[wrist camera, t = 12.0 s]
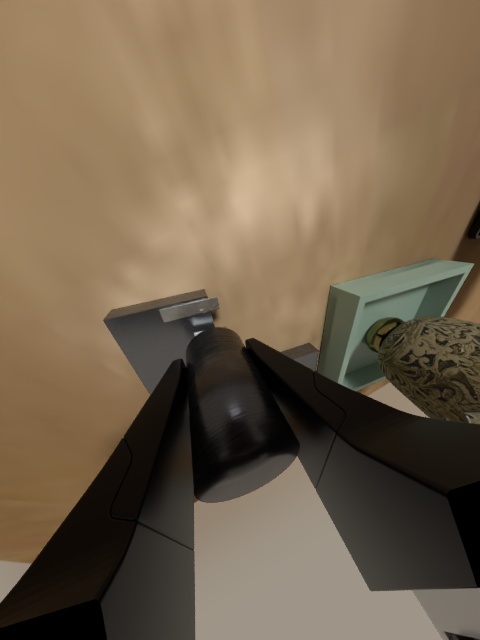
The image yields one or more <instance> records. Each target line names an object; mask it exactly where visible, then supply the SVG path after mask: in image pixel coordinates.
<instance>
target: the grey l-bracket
mask: <svg viewBox="0 0 480 640" xmlns="http://www.w3.org/2000/svg"><path fill="white" fill-rule="evenodd" d="M216 309H219V304H218V299H217V297H213V298H207V295H206V292H205V290H204V289H203V290H199V291H194V292H190V293H185V294H181V295H176V296H172V297H167V298H163V299H158V300H154V301H150V302H145V303H141V304H136V305H132V306H127V307H123V308H118V309H114V310H111V311H110V312H109V314H108V315H107V316H106V317H105V319H104V320H103V321H104V322H105V324H106V326H107V327H108V329H109V330H110V332H111V334H112V335H113V337H114V338H115V340H116V341H117V343H118V345H119V346H120V348H121V349H122V351H123V353H124V354H125V356H126V357H127V359H128V360H129V362H130V364H131V365H132V367H133V368H134V370H135V372H136V373H137V375H138V376H139V378H140V380H141V381H142V383H143V384H144V386H145V387H146V389H147V391H148V392H149V394H150V395H151V394H152V392H153V390H154V389H155V387H156V386H157V384H158V383H159V381H160V380H161V378H162V377H163V375H164V374H165V372H166V371H167V369H168V367H169V366H170V364H171V363H172V361H174V360H177V359H180V358H181V359H183V361H184V363H185V366H186V349H187V346H188V344H189V343H190V341H191V340H192V339H193V338H194V337H195V336H194V333H195V332H200V331H204V330H207V329H210V328H215V327H214V323H213V318H212V314H211V311H212V310H216ZM318 352H319V351H318V350H317V349H316V348H315V347H314V346H312V345H311V344H310V343H307V344H304V345H301V346H298V347H295V348H292V349H289V350H286V351H283V352H280V353H282V354H284V355H286V356H288V357H290V358H292V359H293V360H295V361H297V362H299V363H301V364H303V365H304V366H306V367H308V368H310V369H312V370H313V372H314V371H316V365H317V358H318Z"/></svg>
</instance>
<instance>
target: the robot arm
mask: <svg viewBox="0 0 480 640" xmlns="http://www.w3.org/2000/svg"><path fill="white" fill-rule="evenodd" d="M469 238H471V239H478V238H480V216H479V218H478V220H477V221H476V223H475V225H474V227H473V229H472V231H471V233H470V235H469ZM245 343H246V349H247V351H248V353H249V354H250V356H251V358H252V360H253V362H254V363H255V365H256V367H257V369H258V370H259V372H260V374H261V376H262V377H263V379H264V381H265V383H266V384H267V386H268V388H269V390H270V392H271V393H272V395H273V397H274V399H275V400H276V402H277V404H278V406H279V407H280V409H281V411H282V413H283V414H284V416H285V418H286V420H287V422H288V423H289V425H290V427H291V429H292V430H293V432H294V434H295V436H296V437H297V439H298V441H299V443H300V450H299V453H298V455H297V456H298V458H299V460H300V461H301V463H302V465H303V467H304V469H305V471H306V473H307V474H308V476H309V478H310V480H311V482H312V484H313V486H314V487H315V488H316V491H317V493H318V495H319V497H320V499H321V501H322V502H323V504H324V506H325V508H326V510H327V511H328V514H329V515H330V517H331V519H332V521H333V523H334V524H335V527H336V528H337V530H338V532H339V534H340V536H341V537H342V539H343V541H344V543H345V545H346V547H347V549H348V551H349V552H350V554H351V556H352V558H353V560H354V562H355V564H356V565H357V567H358V569H359V571H360V573H361V575H362V576H363V578H364V580H365V582H366V584H367V586H368V587H369V589H370V590H371V591H395V590H412V591H413V593H414V594H415V596H416V597H417V599H418V600H419V602H420V604H421V605H422V607H423V609H424V610H425V611H426V613H427V615H428V617H429V618H430V620H431V621H432V623H433V624H434V626H435V628H436V629H437V631H438V632H439V634H440V635H441V637H442V639H443V640H480V424H473V423H465V422H457V421H450V420H442V419H434V418H426V417H420V416H416V415H412V414H409V413H406V412H403V411H400V410H397V409H395V408H392V407H390V406H388V405H386V404H383V403H381V402H379V401H377V400H374V399H372V398H370V397H368V396H365V395H363V394H361V393H359V392H356V391H354V390H352V389H350V388H347V387H345V386H343V385H341V384H339V383H337V382H335V381H333V380H331V379H329V378H327V377H325V376H323V375H321V374H319V373H318V372H316V371H314V372H313V370H312V369H310V368H308V367H306V366H304V365H303V364H301V363H299V362H297V361H295V360H293V359H292V358H290V357H288V356H286V355H284V354H282V353H280V352H279V351H277V350H275V349H273V348H271V347H269V346H268V345H266V344H264V343H262V342H260V341H258V340H256V339H255V338H251V339H247V340H246V342H245ZM193 550H194V486H193V470H192V453H191V437H190V420H189V404H188V387H187V370H186V366H185V363H184V361H183V359H181V358H180V359H177V360H174V361H172V363H171V364H170V366H169V367H168V369H167V371H166V372H165V374H164V375H163V377H162V378H161V380H160V381H159V383H158V384H157V386H156V387H155V389H154V390H153V392H152V394H151V395H150V397H149V398H148V400H147V401H146V403H145V404H144V406H143V407H142V409H141V410H140V412H139V414H138V415H137V417H136V418H135V420H134V421H133V423H132V424H131V426H130V427H129V429H128V430H127V432H126V434H125V435H124V438H122V440H121V441H120V443H119V444H118V446H117V447H116V449H115V450H114V452H113V453H112V455H111V456H110V458H109V459H108V461H107V462H106V464H105V465H104V467H103V468H102V469H101V471H100V472H99V474H98V475H97V476H96V478H95V479H94V481H93V482H92V483H91V485H90V486H89V488H88V489H87V490H86V492H85V493H84V494H83V496H82V497H81V499H80V500H79V501H78V503H77V504H76V505H75V507H74V508H73V509H72V511H71V512H70V513H69V515H68V516H67V517H66V519H65V520H64V521H63V523H62V524H61V525H60V527H59V528H58V529H57V531H56V532H55V533H54V535H53V536H52V537H51V539H50V540H49V541H48V543H47V544H46V546H45V547H44V548H43V550H42V551H41V552H40V554H39V555H38V556H37V558H36V559H35V560H34V562H33V563H32V564H31V566H30V567H29V569H28V570H27V571H26V572H25V574H24V575H23V576H22V577H21V579H20V580H19V581H18V583H17V584H16V585H15V586H14V587H13V589H12V590H11V591H10V592H9V594H8V595H7V596H6V597H5V598H4V599H3V601H2V602H1V603H0V640H195V582H194V581H195V575H194V574H195V573H194V551H193Z"/></svg>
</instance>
